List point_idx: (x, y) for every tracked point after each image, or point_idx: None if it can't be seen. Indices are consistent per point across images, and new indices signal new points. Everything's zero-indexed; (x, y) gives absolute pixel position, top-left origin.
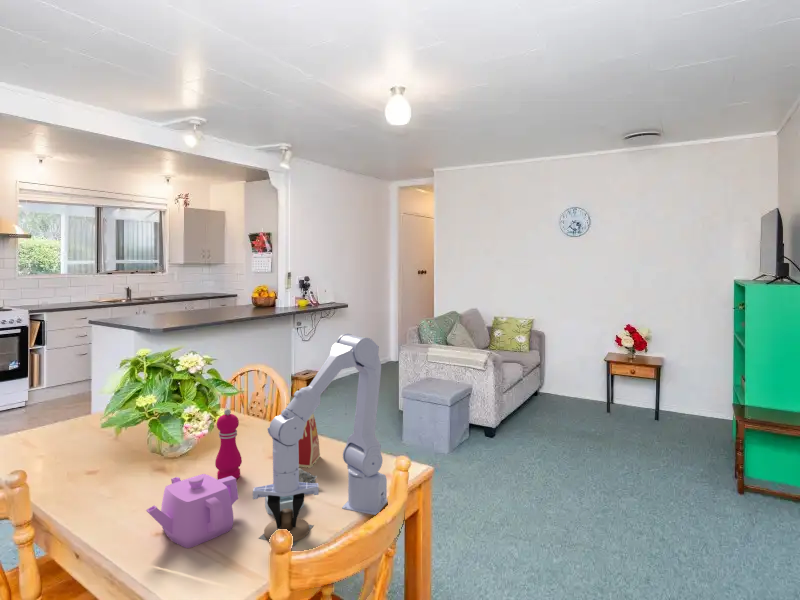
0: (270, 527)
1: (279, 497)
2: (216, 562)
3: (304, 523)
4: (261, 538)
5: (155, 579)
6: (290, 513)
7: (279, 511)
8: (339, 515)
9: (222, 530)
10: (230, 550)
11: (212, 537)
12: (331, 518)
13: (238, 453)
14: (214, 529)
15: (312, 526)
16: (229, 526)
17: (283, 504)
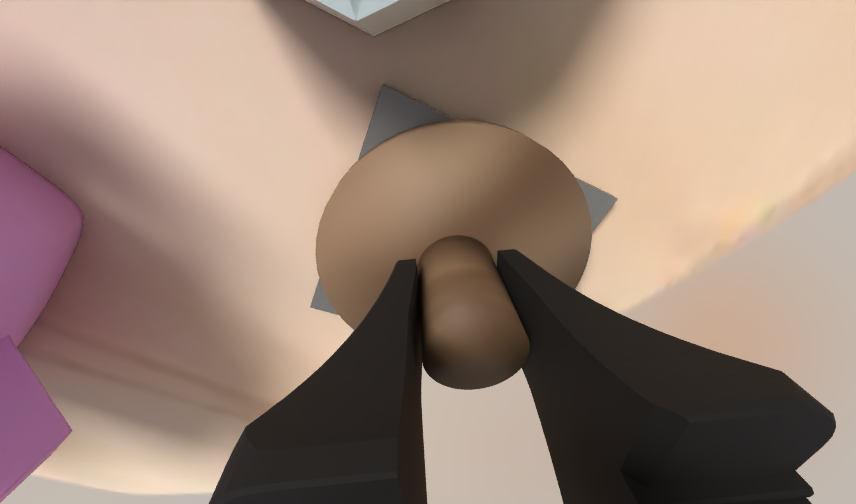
0: (349, 257)
1: (416, 502)
2: (212, 413)
3: (567, 221)
4: (328, 309)
5: (68, 467)
6: (509, 377)
7: (414, 362)
8: (848, 31)
9: (44, 290)
10: (219, 361)
11: (39, 311)
12: (764, 81)
13: None
14: (42, 462)
15: (606, 210)
16: (52, 259)
17: (389, 6)
